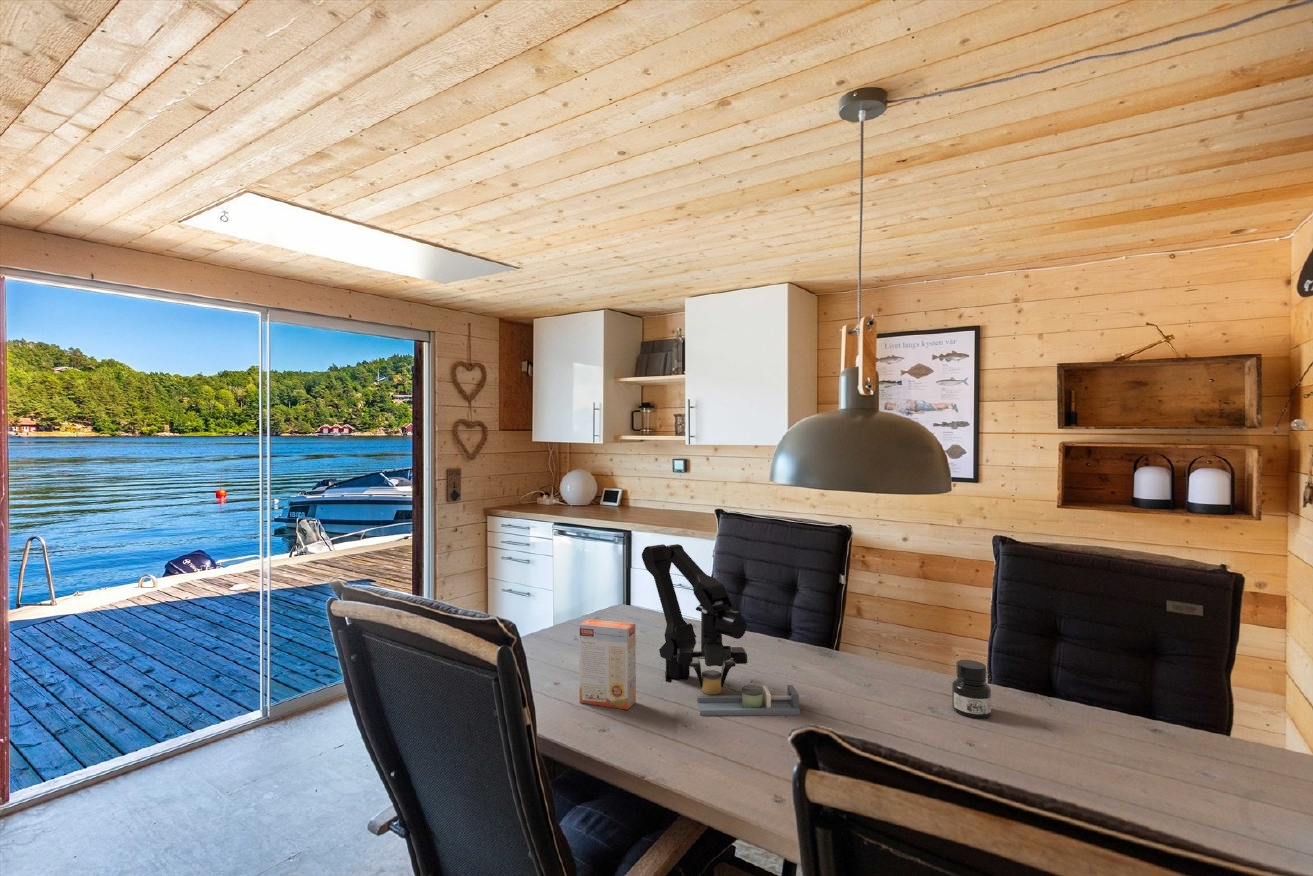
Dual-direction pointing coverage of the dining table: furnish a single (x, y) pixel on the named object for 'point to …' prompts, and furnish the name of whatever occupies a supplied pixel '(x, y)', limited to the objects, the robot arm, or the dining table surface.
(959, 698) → the ink bottle
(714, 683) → the jar
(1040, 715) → the dining table surface
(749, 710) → the lane
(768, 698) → the pusher
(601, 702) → the cracker box
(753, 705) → the jar in lane
